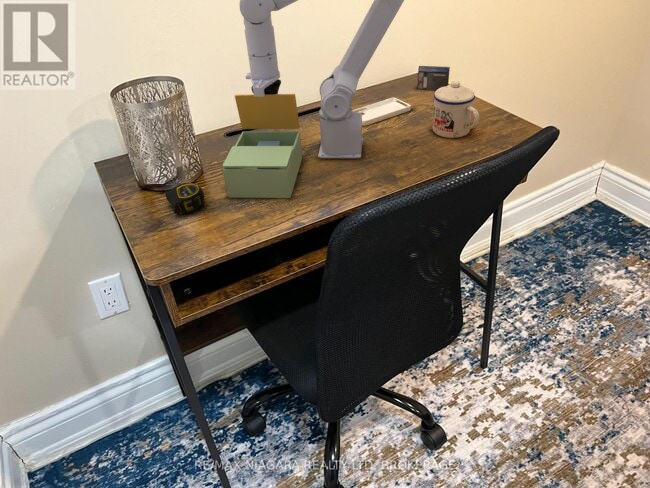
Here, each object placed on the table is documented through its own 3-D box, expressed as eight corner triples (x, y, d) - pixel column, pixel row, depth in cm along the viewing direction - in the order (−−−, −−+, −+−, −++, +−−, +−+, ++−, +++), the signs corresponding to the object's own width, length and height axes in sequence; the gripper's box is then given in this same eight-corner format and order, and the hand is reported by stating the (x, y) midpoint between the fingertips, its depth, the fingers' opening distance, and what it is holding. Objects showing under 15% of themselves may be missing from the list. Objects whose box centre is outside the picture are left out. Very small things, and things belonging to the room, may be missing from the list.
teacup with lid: (423, 129, 123) (426, 81, 116) (450, 118, 127) (454, 71, 120) (461, 147, 115) (466, 97, 108) (488, 135, 119) (496, 85, 112)
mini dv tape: (417, 89, 143) (418, 67, 139) (417, 87, 144) (419, 65, 141) (447, 90, 141) (449, 68, 138) (447, 88, 142) (449, 66, 139)
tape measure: (167, 203, 104) (162, 187, 101) (200, 193, 106) (196, 177, 104) (176, 220, 99) (171, 203, 97) (210, 209, 101) (206, 193, 99)
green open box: (246, 157, 117) (241, 127, 113) (302, 157, 116) (299, 127, 111) (228, 197, 104) (221, 166, 100) (290, 198, 103) (286, 166, 98)
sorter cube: (279, 171, 111) (276, 151, 108) (257, 171, 111) (254, 151, 108) (283, 160, 114) (280, 140, 111) (262, 160, 115) (259, 140, 112)
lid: (242, 129, 113) (242, 128, 113) (299, 128, 111) (299, 127, 112) (234, 95, 107) (234, 94, 107) (294, 94, 105) (295, 93, 106)
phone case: (364, 126, 126) (411, 110, 132) (364, 121, 126) (412, 105, 131) (347, 116, 131) (393, 101, 137) (347, 111, 131) (393, 96, 137)
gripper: (250, 41, 110) (259, 102, 118) (233, 65, 98) (244, 131, 107) (283, 40, 109) (289, 102, 117) (270, 64, 97) (278, 130, 106)
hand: (270, 116), depth 112 cm, fingers closed
